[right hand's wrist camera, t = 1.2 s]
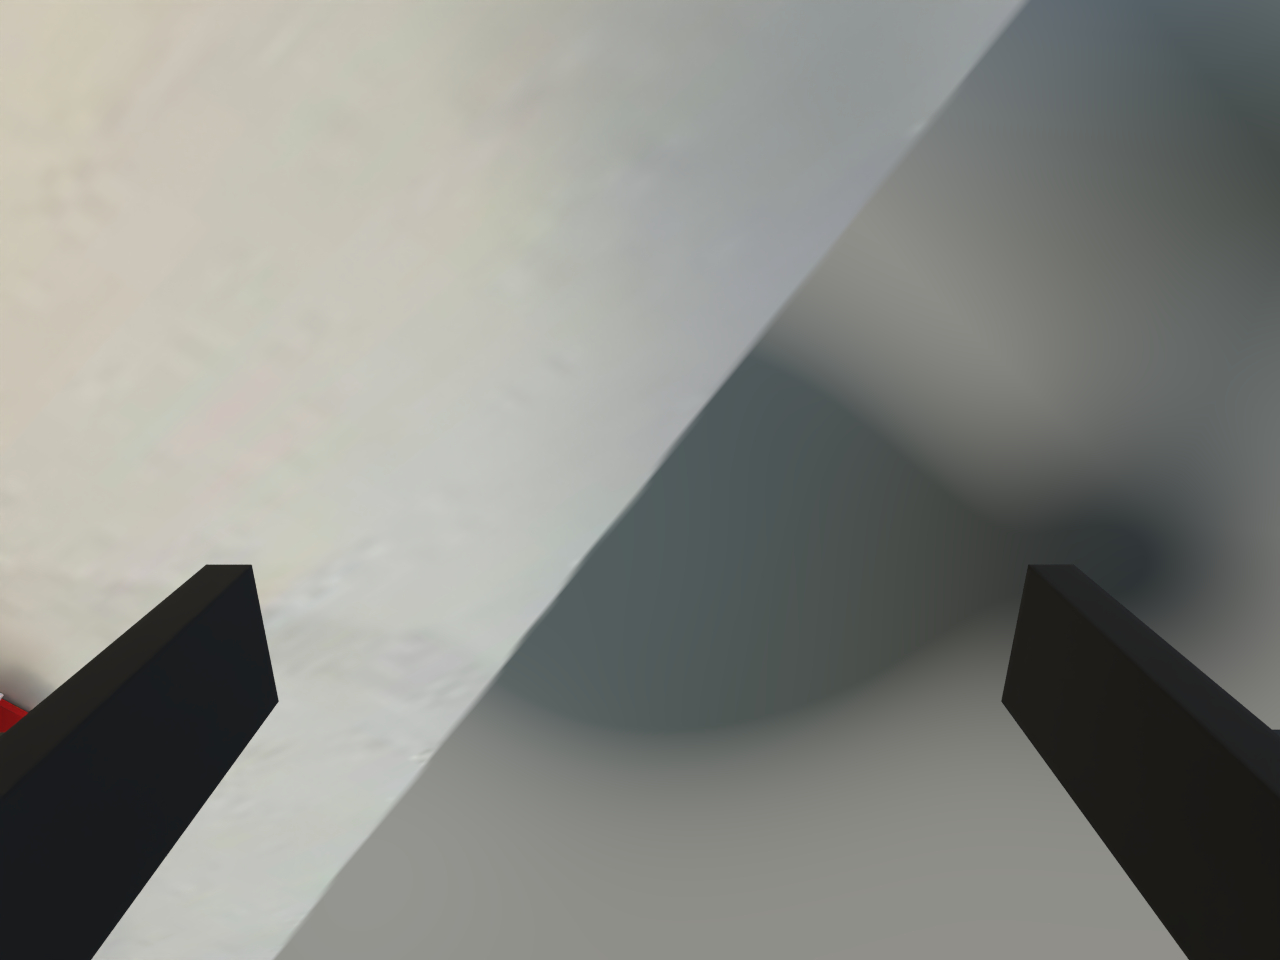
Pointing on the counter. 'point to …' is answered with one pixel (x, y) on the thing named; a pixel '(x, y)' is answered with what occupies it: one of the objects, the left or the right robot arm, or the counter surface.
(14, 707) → the toy
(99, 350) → the counter surface
